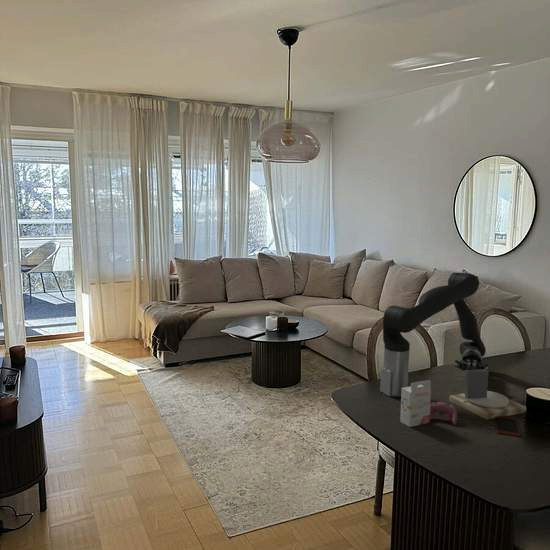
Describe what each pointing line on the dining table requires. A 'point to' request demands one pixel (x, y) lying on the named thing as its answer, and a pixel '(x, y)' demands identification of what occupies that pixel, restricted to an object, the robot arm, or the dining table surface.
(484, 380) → the grey panel on disc
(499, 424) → the smartphone
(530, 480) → the dining table surface
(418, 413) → the ink cartridge box
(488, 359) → the dining table surface
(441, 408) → the video game controller
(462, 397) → the dial base
